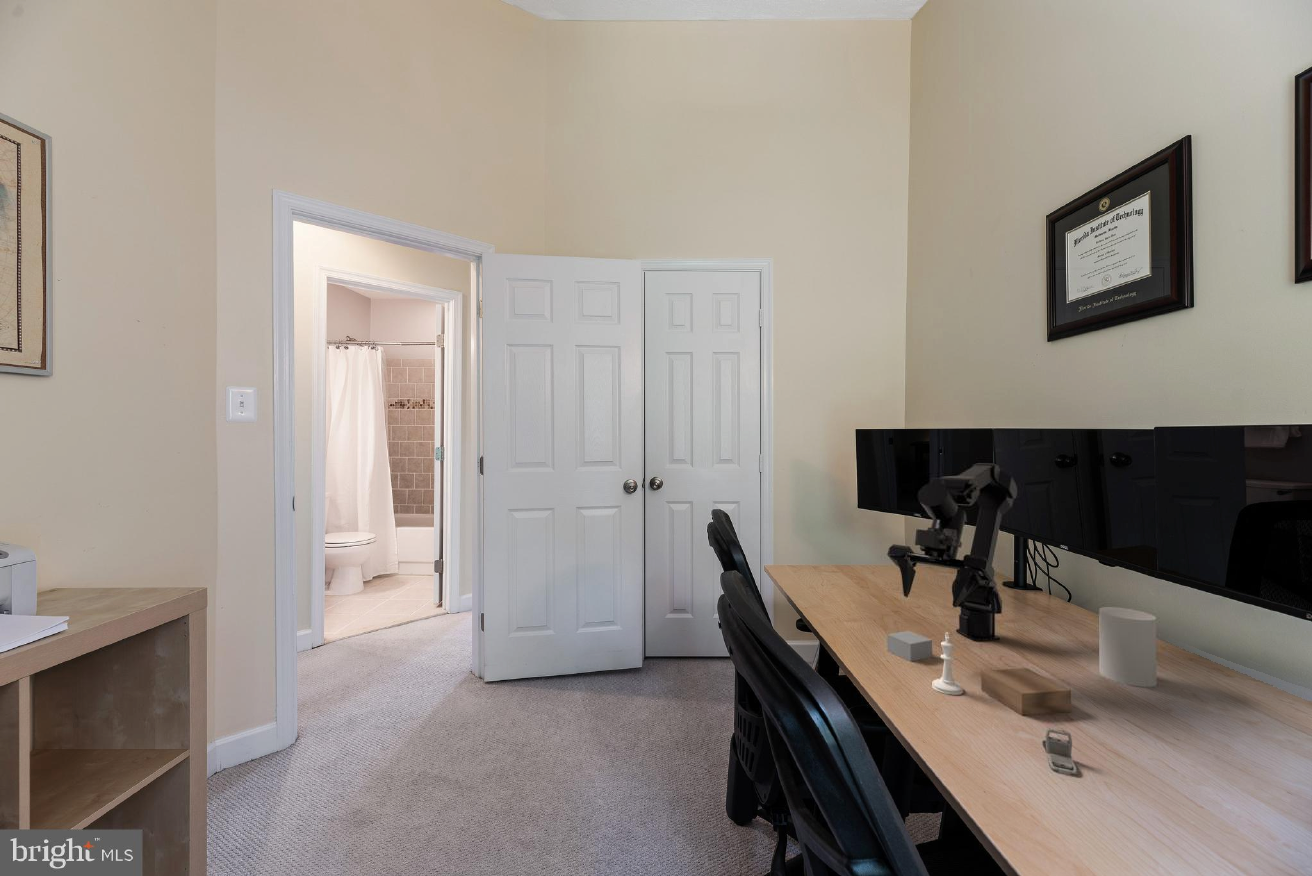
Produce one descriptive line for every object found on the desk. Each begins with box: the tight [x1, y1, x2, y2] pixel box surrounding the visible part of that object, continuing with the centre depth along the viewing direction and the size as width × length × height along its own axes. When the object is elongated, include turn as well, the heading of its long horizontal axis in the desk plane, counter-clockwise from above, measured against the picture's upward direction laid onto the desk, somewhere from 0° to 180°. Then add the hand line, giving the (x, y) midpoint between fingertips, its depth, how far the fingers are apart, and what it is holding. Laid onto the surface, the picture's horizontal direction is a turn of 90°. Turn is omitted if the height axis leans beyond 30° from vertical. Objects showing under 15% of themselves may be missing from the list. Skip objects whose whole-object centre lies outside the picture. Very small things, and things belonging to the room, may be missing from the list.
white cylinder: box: [1098, 606, 1157, 688], centre depth 103 cm, size 8×8×12 cm
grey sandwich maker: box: [1041, 727, 1078, 777], centre depth 76 cm, size 8×3×4 cm, turn 152°
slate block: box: [886, 630, 933, 662], centre depth 114 cm, size 6×6×4 cm
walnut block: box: [980, 667, 1072, 716], centre depth 94 cm, size 9×9×4 cm
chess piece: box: [931, 631, 964, 696], centre depth 98 cm, size 5×5×10 cm
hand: (929, 601), depth 108 cm, fingers open, 9 cm apart
